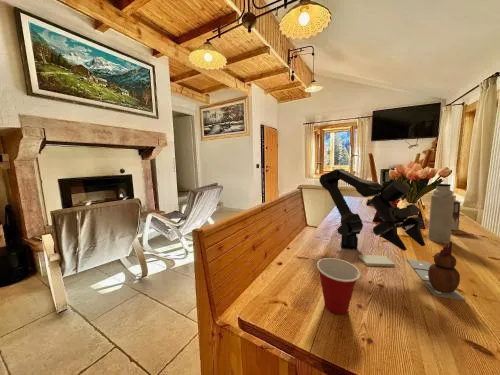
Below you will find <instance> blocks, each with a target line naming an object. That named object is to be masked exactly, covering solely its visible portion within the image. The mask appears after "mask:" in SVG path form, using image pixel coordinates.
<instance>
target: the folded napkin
mask: <svg viewBox="0 0 500 375" xmlns="http://www.w3.org/2000/svg"><path fill="white" fill-rule="evenodd" d="M358 257H359V259H360V260H361V262H363V264H365V265H366V266H371V267H393V268H394V267H396V266H395V265H396V264H395V263H394V262H393V261H392V260H390V259H389V258H388V257H387V256H386V255H376V254H375V255H372V254H359V255H358Z"/></svg>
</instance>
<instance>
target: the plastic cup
mask: <svg viewBox="0 0 500 375" xmlns="http://www.w3.org/2000/svg"><path fill="white" fill-rule="evenodd" d="M316 268H317V270H318V274H319V278H320V283H321V290H322V296H323V300H324V301H323V302H324V306H325V308H326V309H327V311H328V312H330V313H332V314H333V315H337V316H341V315H345V314H347V313H348V310H349V307H350V303H351V300H352V296H353V292H354V288H355V284H356V283H357V281H358V280H359V278H361V277H360V276H361V275H362V274H361V272H360V270H359V268H358V267H357V266H356V265H354V264H352V263H351V262H348V261H346V260H342V259H341V258H333V257H324V258H321V259H319V260H318V261H317V263H316Z"/></svg>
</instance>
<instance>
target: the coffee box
mask: <svg viewBox="0 0 500 375" xmlns="http://www.w3.org/2000/svg"><path fill="white" fill-rule="evenodd" d="M460 209H461V202H460V201H457V200H454V204H453V215H452V226H451V231H456V232H457V231H459V228H460V227H459V225H460V214H461V212H460V211H461V210H460Z"/></svg>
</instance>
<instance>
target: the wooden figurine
mask: <svg viewBox="0 0 500 375" xmlns="http://www.w3.org/2000/svg"><path fill="white" fill-rule="evenodd" d="M452 247H453V241H451V240H450V242H449V243H445V246H443V247H442V249H440V252H436V253H435V254H434V255H433V262H434V263H433V264H432V263H431V266H430V267H429V270H428V277H429V281H430V283H431V285H432V287H433V288H435V289H436V290H439V291H442V292H447V293H450V292H454V291H455V290H457V289H458V287H459V285H460V280H461V274H460V272H459V271H458V270H457V268H456V265H457V258H456V257H455V256H454V255H452Z"/></svg>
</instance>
